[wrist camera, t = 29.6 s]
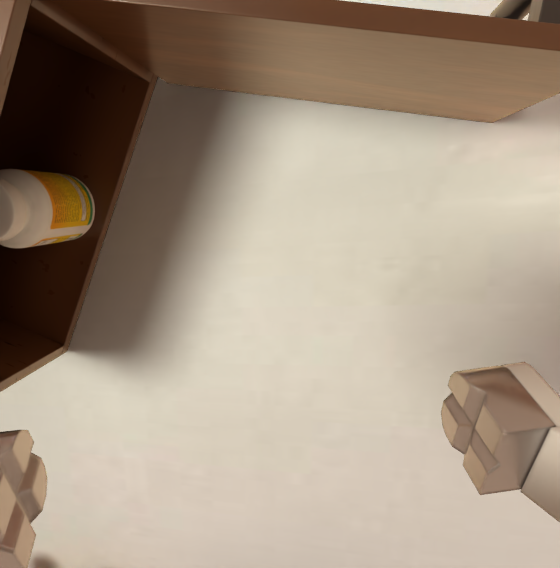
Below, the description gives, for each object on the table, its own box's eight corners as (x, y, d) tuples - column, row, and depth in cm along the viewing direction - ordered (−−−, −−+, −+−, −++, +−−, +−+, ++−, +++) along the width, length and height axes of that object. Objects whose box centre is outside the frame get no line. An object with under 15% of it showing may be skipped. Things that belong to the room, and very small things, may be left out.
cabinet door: (173, -5, 35) (45, -177, 19) (511, 32, 34) (686, -121, 17) (167, 83, 37) (40, -7, 20) (492, 122, 35) (639, 59, 19)
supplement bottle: (73, 253, 39) (-7, 271, 30) (22, 210, 39) (-74, 215, 29) (110, 203, 38) (40, 206, 29) (59, 159, 38) (-29, 147, 28)
